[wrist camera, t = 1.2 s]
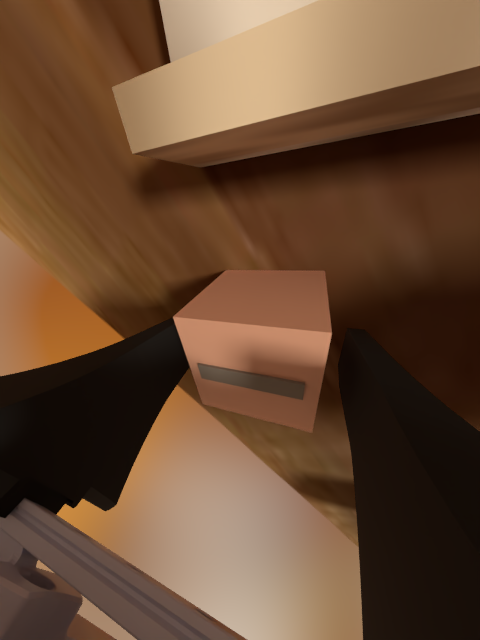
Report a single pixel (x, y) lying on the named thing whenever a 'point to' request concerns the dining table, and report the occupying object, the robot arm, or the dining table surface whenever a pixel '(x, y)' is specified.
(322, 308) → the terracotta cube
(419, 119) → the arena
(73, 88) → the dining table surface
